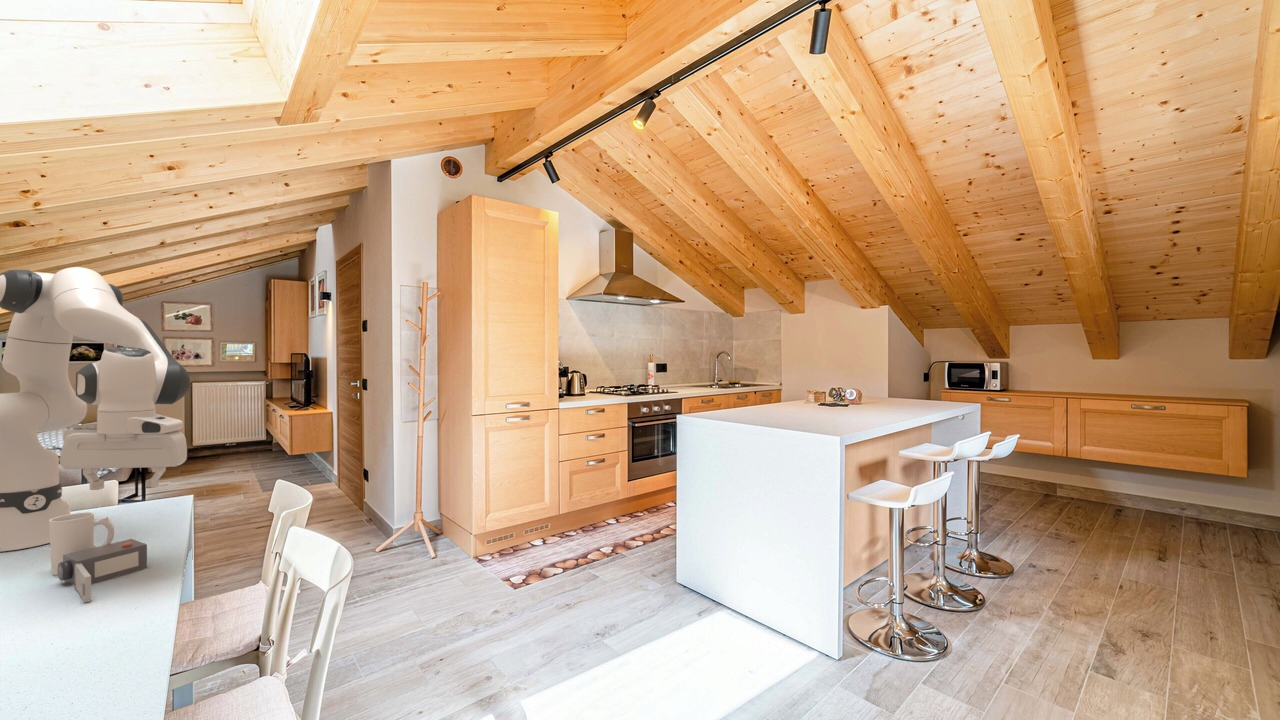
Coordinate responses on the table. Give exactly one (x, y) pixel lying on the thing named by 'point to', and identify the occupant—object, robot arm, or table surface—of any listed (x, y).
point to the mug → (74, 535)
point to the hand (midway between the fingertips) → (124, 488)
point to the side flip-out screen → (83, 582)
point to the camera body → (105, 561)
